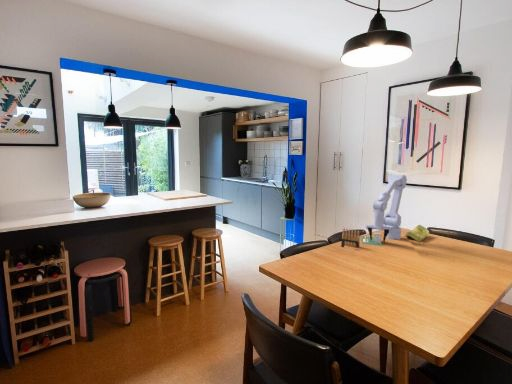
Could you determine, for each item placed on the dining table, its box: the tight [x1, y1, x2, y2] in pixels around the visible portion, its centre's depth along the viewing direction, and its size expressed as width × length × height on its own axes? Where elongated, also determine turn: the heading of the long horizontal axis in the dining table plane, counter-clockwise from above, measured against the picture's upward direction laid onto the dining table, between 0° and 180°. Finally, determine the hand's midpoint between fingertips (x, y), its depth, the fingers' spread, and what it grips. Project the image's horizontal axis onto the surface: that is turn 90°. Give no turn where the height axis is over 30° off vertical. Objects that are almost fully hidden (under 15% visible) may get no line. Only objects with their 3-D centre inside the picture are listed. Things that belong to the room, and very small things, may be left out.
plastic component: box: [403, 224, 430, 242], centre depth 202 cm, size 20×7×10 cm
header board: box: [360, 235, 384, 247], centre depth 187 cm, size 12×18×4 cm, turn 162°
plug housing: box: [373, 232, 382, 244], centre depth 185 cm, size 4×7×5 cm, turn 162°
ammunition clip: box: [340, 227, 361, 251], centre depth 177 cm, size 11×2×12 cm, turn 55°
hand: (377, 240), depth 185 cm, fingers open, 7 cm apart
